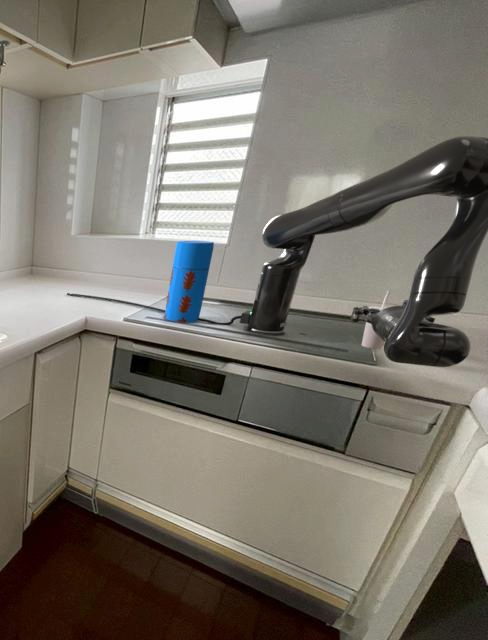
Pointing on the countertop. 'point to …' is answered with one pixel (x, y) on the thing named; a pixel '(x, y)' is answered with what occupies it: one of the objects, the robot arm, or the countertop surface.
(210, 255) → the thermos
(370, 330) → the smoothie
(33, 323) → the countertop surface
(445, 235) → the robot arm
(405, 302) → the jam lid
